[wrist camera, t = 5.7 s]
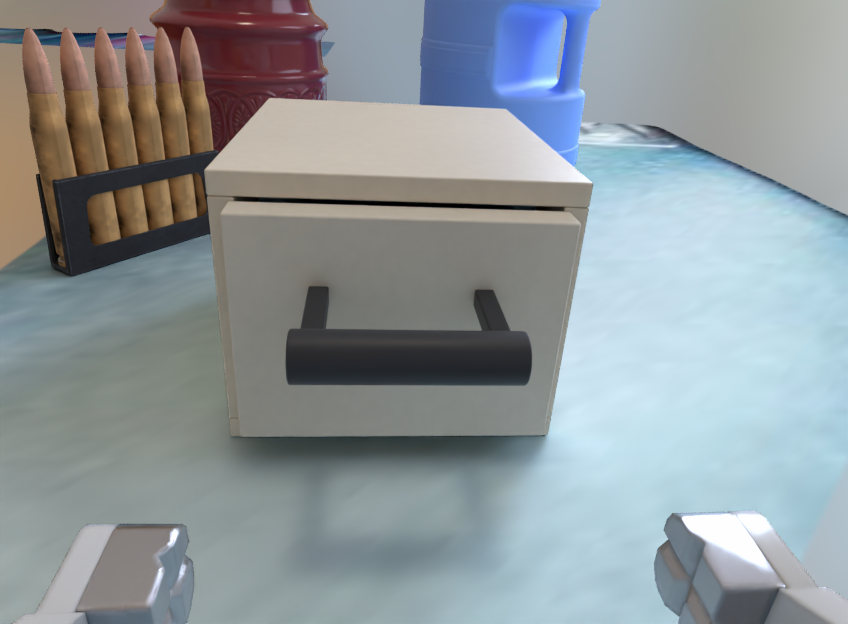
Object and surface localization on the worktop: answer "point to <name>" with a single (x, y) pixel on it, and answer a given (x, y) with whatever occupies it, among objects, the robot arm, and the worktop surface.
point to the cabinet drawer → (395, 316)
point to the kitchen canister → (248, 54)
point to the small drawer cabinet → (387, 172)
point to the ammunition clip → (119, 150)
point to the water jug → (509, 62)
